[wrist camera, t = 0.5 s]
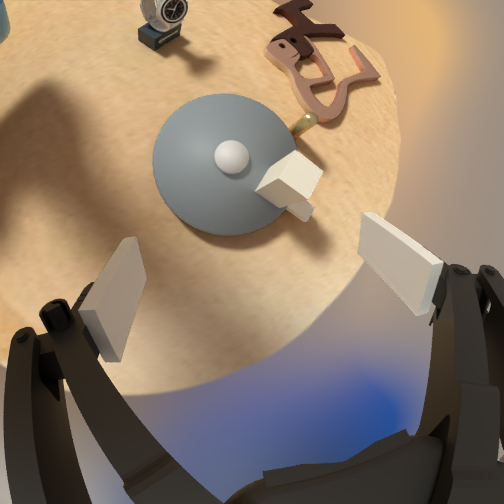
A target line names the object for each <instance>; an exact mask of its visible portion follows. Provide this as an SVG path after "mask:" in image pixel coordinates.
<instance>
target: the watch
mask: <svg viewBox="0 0 504 504" xmlns="http://www.w3.org/2000/svg"><path fill="white" fill-rule="evenodd" d="M156 5H157V9H156V6H155V2H154V0H141V4H140V7H141V11H142V13H143V17H144V18H145V20H146V21H148V23H147V24H145V25H143V26H142V27H140V28H138V40H139V41H141V42H142V43H144V44H145V45H147V46H148V47H150V48H151V49H152V50H154V51H155V50H157V49H158V48H160V47H161V46H163V45H164V44H166V43H167V42H169V41H171V40H172V39H174V38H176V37H177V36H179V35H180V30H181V22H182V20H184V17H185V15H186V13H187V10H188V1H186V0H156Z"/></svg>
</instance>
